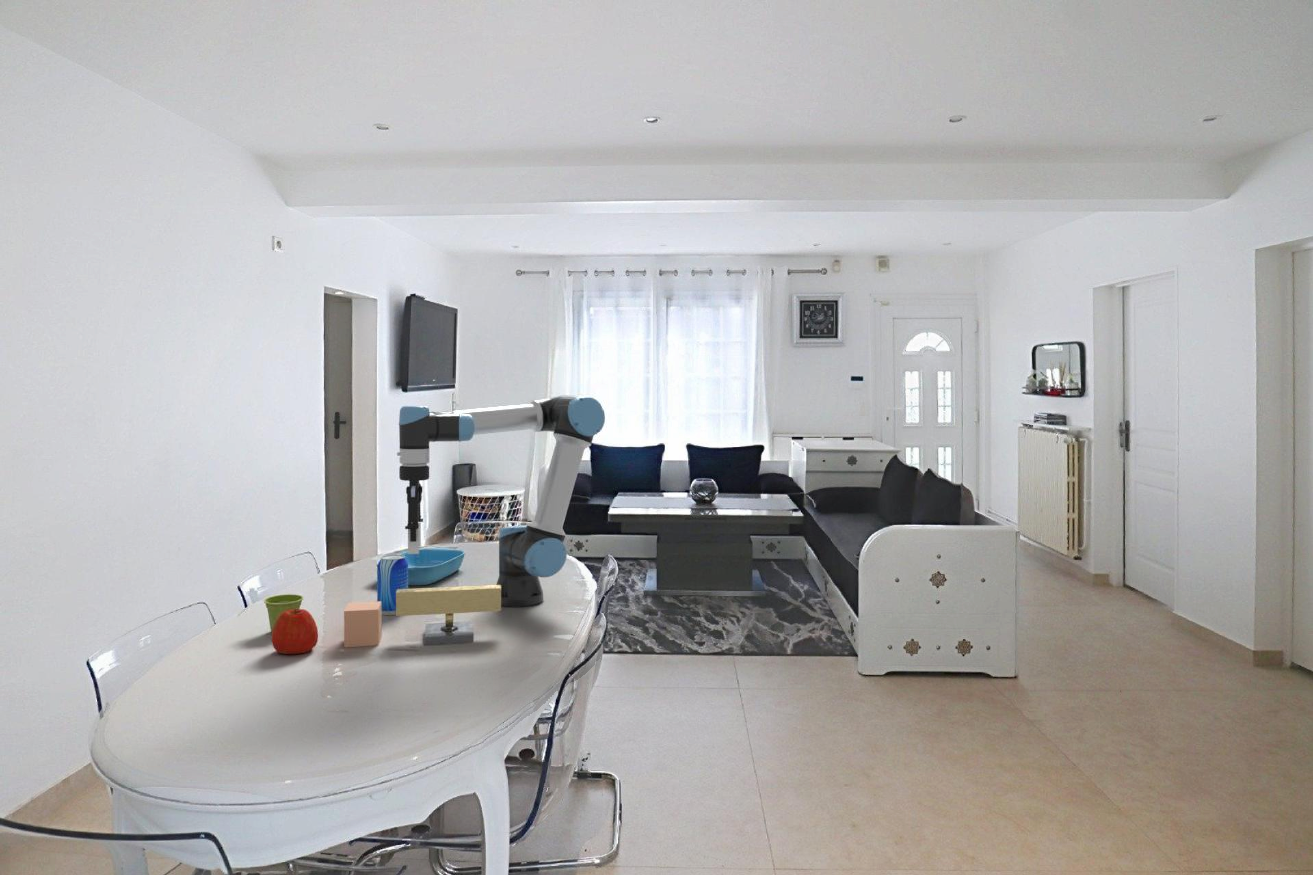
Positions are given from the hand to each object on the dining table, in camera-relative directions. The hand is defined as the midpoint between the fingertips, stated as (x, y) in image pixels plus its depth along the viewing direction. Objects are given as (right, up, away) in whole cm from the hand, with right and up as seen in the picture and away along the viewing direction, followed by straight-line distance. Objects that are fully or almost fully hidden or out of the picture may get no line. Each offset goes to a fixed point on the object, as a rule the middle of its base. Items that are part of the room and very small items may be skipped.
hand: (414, 550), depth 209 cm
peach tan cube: (-10, -22, -9) cm, 26 cm away
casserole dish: (-17, -18, +64) cm, 68 cm away
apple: (-23, -22, -18) cm, 37 cm away
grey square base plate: (+10, -22, -4) cm, 24 cm away
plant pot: (-34, -21, -2) cm, 40 cm away
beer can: (-12, -21, +18) cm, 30 cm away
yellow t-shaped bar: (+10, -19, -4) cm, 22 cm away
